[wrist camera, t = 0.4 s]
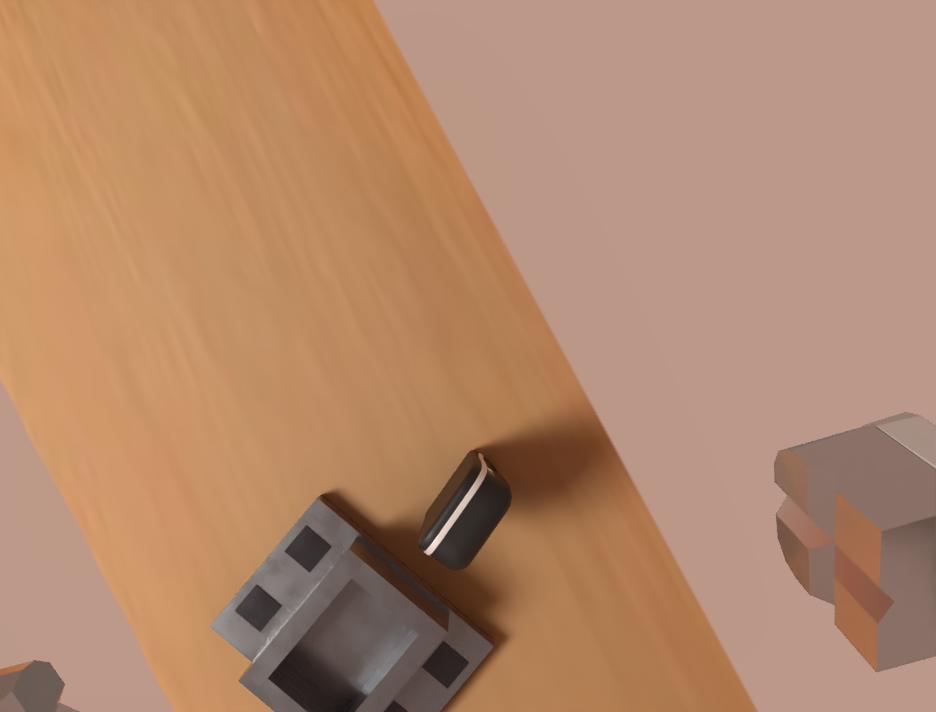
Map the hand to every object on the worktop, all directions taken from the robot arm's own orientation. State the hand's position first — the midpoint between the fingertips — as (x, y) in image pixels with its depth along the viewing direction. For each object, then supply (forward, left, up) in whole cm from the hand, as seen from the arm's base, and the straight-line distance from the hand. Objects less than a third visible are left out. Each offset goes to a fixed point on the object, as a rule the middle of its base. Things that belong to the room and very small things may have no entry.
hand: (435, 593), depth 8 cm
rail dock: (-5, +20, -51) cm, 55 cm away
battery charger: (-5, +6, -51) cm, 52 cm away
